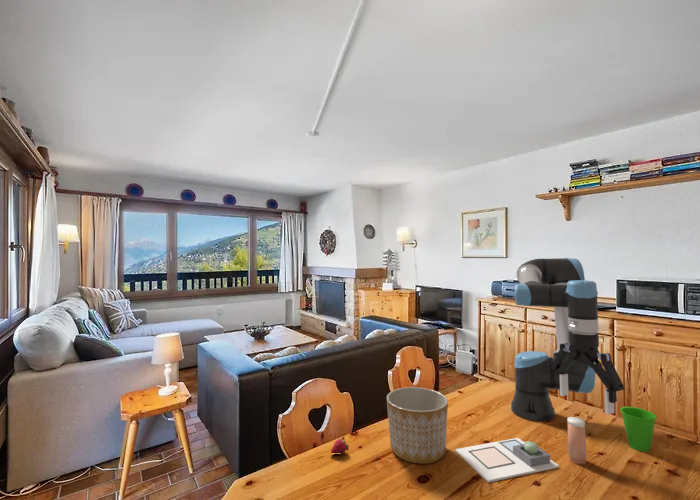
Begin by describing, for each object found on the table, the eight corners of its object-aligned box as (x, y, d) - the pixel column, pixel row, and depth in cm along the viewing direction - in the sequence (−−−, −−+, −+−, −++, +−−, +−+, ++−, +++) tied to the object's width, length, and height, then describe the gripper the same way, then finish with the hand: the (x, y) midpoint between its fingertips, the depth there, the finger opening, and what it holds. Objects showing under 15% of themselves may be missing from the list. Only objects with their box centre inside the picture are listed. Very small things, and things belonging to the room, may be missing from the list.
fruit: (328, 452, 109) (327, 436, 109) (345, 448, 111) (345, 433, 111) (331, 459, 105) (331, 443, 105) (350, 455, 106) (349, 439, 107)
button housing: (513, 454, 105) (512, 446, 105) (531, 450, 107) (531, 442, 107) (530, 467, 98) (530, 458, 98) (550, 463, 100) (550, 454, 100)
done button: (521, 450, 104) (521, 442, 104) (531, 448, 105) (531, 440, 105) (530, 456, 100) (530, 448, 100) (540, 454, 101) (540, 446, 101)
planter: (453, 441, 114) (452, 391, 114) (443, 475, 96) (442, 416, 97) (397, 430, 122) (396, 383, 122) (379, 459, 104) (378, 404, 105)
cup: (665, 457, 103) (664, 420, 104) (631, 454, 105) (630, 417, 105) (646, 441, 112) (645, 407, 112) (615, 438, 114) (613, 405, 114)
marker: (565, 457, 104) (563, 417, 104) (576, 455, 105) (575, 416, 105) (578, 466, 99) (576, 424, 100) (590, 463, 100) (588, 422, 101)
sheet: (455, 451, 108) (455, 448, 108) (518, 439, 114) (518, 437, 114) (487, 482, 93) (487, 480, 93) (558, 467, 99) (558, 464, 99)
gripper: (538, 325, 113) (540, 390, 112) (620, 342, 89) (623, 424, 89) (554, 323, 115) (556, 387, 115) (638, 339, 92) (641, 419, 91)
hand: (585, 403), depth 102 cm, fingers open, 13 cm apart
